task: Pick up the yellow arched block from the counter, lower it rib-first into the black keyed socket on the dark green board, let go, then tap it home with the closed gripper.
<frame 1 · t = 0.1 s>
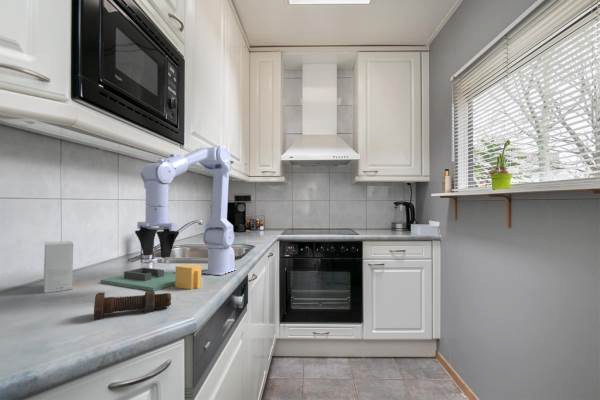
hand: (156, 256, 87), 10 cm above the countertop, fingers open, 7 cm apart
small box: (58, 289, 90), on the countertop
board: (148, 280, 100), on the countertop
bolt: (134, 314, 71), on the countertop
yellow arched block: (188, 286, 93), on the countertop
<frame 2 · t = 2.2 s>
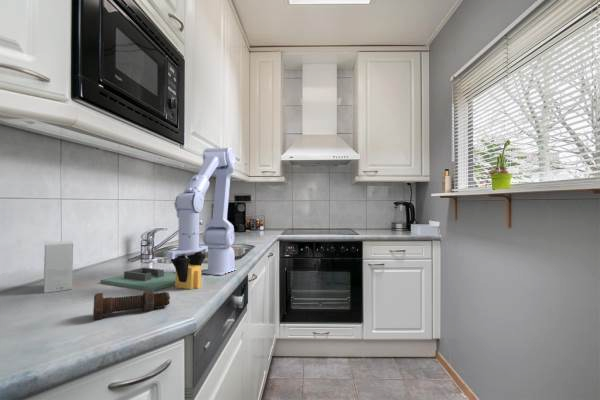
hand: (188, 280, 93), 2 cm above the countertop, fingers closed on yellow arched block, 4 cm apart
yellow arched block: (188, 286, 93), on the countertop, touching gripper
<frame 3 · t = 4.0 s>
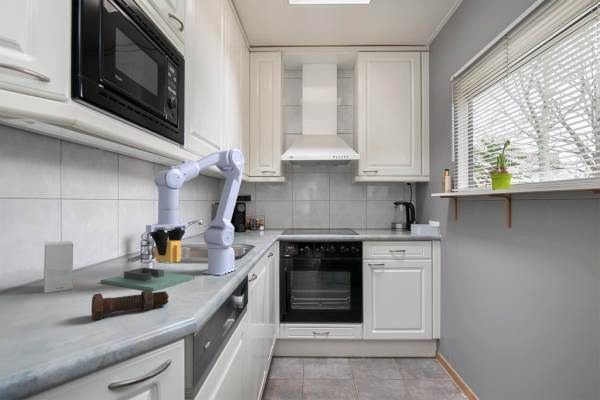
hand: (167, 254, 97), 9 cm above the countertop, fingers closed on yellow arched block, 4 cm apart
yellow arched block: (168, 260, 96), point 7 cm above the countertop, touching gripper
everything else where it was.
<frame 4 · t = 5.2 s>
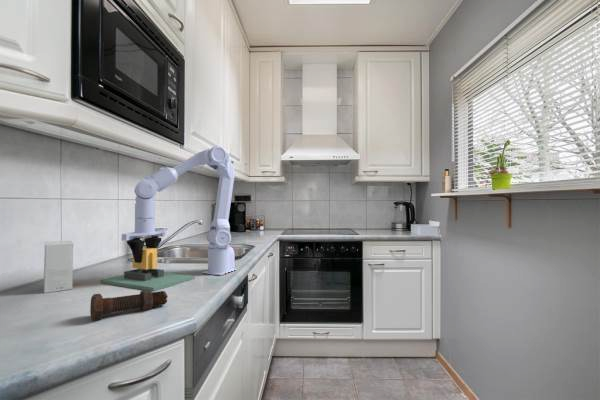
hand: (144, 261, 101), 6 cm above the countertop, fingers closed on yellow arched block, 4 cm apart
yellow arched block: (144, 267, 100), point 4 cm above the countertop, touching gripper
when the fingers open (4 cm above the countertop, at t = 6.0 s): yellow arched block stays where it is, resting on board.
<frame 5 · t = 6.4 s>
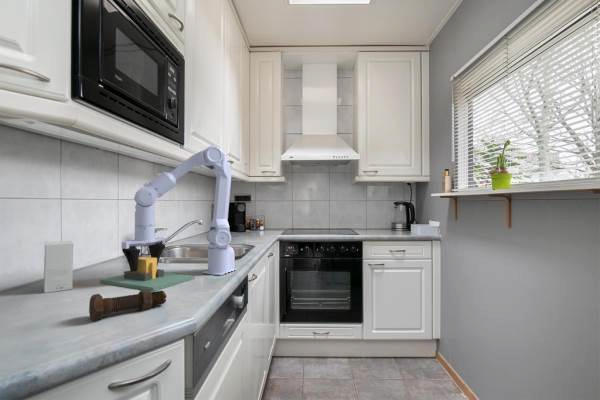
hand: (144, 268, 100), 4 cm above the countertop, fingers open, 7 cm apart
yellow arched block: (144, 277, 100), point 1 cm above the countertop, touching board
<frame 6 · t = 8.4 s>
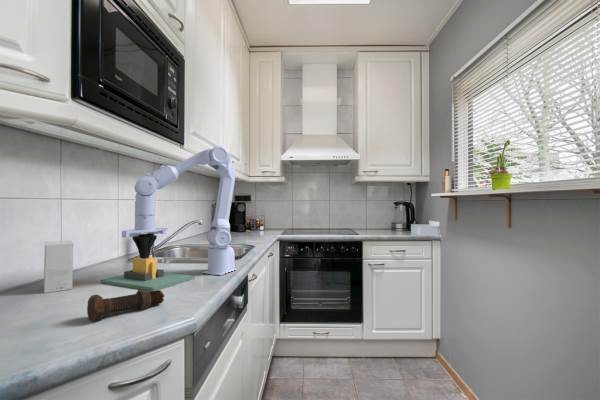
hand: (144, 258, 101), 7 cm above the countertop, fingers closed, pressing on yellow arched block
yellow arched block: (144, 277, 100), point 1 cm above the countertop, touching board, gripper
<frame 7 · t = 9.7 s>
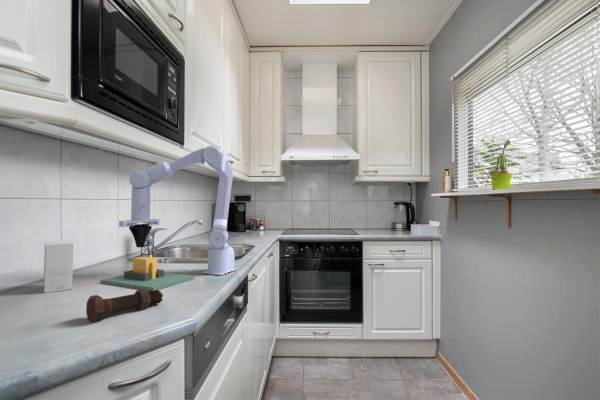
hand: (140, 247, 108), 9 cm above the countertop, fingers closed
yellow arched block: (144, 277, 100), point 1 cm above the countertop, touching board
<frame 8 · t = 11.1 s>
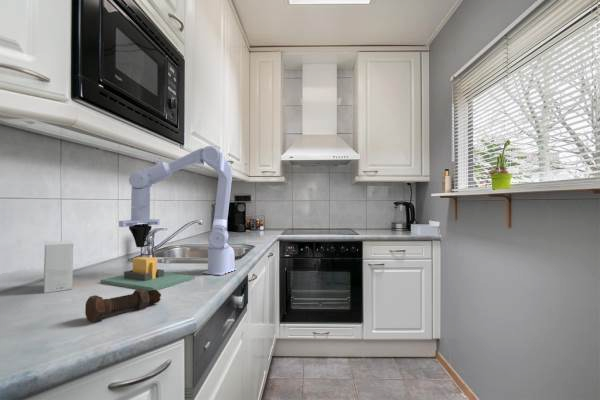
hand: (140, 247, 108), 9 cm above the countertop, fingers closed
at the end: yellow arched block 0.2 cm from the target spot on the board, point 1.0 cm above the board's base; yellow arched block tilted 0°; the gripper is holding nothing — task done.
